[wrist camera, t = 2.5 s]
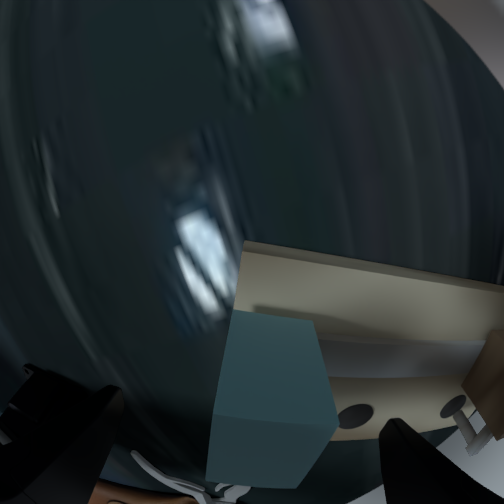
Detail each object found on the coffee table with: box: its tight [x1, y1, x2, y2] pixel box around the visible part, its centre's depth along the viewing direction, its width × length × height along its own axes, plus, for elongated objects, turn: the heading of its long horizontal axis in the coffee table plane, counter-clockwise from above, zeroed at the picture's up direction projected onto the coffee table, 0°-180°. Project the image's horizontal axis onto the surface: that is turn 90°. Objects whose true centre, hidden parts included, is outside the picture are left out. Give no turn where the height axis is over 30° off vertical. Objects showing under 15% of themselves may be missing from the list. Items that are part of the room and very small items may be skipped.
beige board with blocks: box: [234, 240, 504, 456], centre depth 10 cm, size 11×19×7 cm, turn 81°
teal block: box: [205, 309, 340, 488], centre depth 9 cm, size 7×3×5 cm, turn 171°
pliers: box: [131, 450, 251, 504], centre depth 19 cm, size 10×2×15 cm
